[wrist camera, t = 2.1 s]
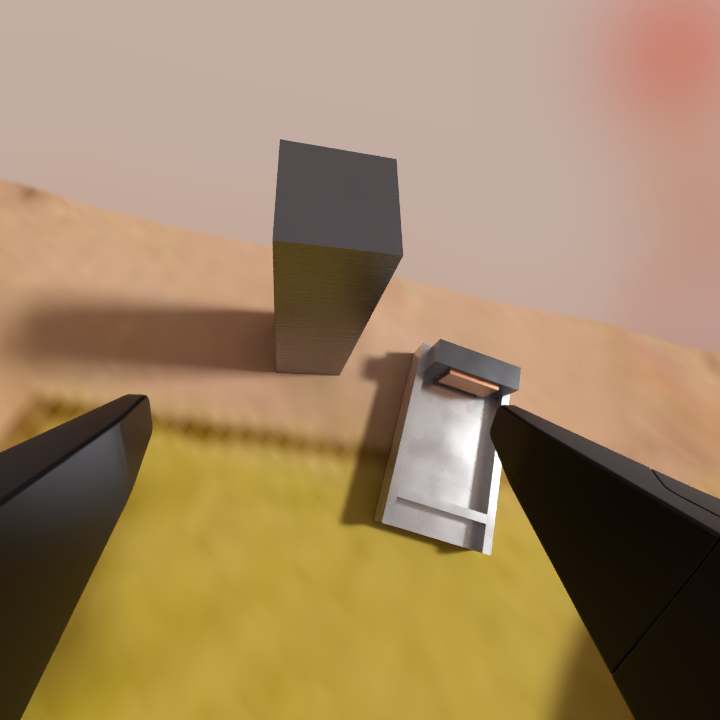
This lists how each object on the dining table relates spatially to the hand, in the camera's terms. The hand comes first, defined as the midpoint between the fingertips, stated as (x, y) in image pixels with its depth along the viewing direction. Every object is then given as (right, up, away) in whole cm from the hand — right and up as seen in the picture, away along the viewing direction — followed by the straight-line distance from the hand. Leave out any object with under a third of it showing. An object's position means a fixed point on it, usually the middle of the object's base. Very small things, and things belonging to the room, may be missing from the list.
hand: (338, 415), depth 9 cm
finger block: (-3, +2, +14) cm, 15 cm away
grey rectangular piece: (+6, -4, +14) cm, 16 cm away
